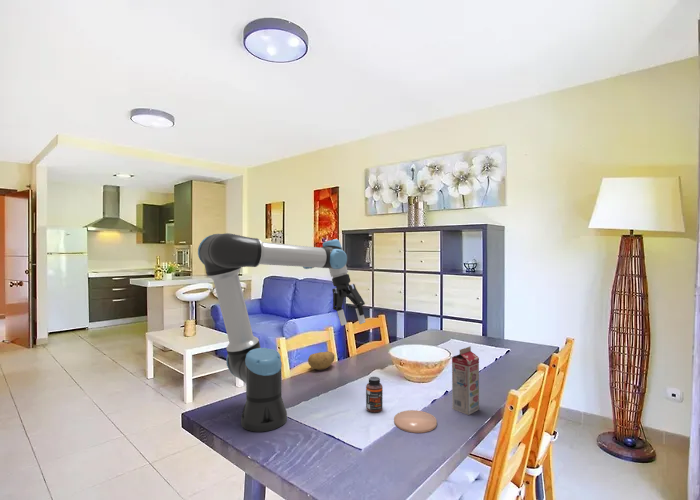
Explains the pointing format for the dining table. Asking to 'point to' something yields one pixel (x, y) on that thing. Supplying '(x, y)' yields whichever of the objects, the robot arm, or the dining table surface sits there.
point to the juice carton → (465, 382)
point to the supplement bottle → (374, 395)
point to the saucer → (415, 421)
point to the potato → (321, 360)
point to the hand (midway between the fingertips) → (353, 324)
